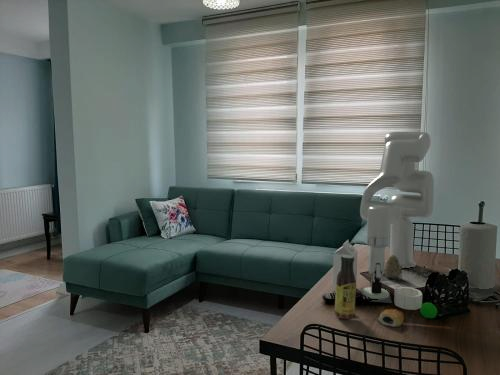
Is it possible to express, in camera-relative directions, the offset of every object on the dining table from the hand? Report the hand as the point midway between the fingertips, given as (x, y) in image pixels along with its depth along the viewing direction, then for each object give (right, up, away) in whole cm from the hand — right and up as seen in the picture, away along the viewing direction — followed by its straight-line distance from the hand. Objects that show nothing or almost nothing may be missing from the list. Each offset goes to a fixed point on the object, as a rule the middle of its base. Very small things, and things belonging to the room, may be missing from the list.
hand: (375, 289), depth 146 cm
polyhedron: (+12, -5, -16) cm, 21 cm away
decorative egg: (+12, -1, +17) cm, 21 cm away
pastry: (-1, -6, -19) cm, 19 cm away
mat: (0, -3, 0) cm, 3 cm away
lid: (0, -2, 0) cm, 2 cm away
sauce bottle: (-15, -5, -15) cm, 21 cm away
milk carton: (-10, -2, +5) cm, 12 cm away
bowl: (+8, -4, -8) cm, 12 cm away
